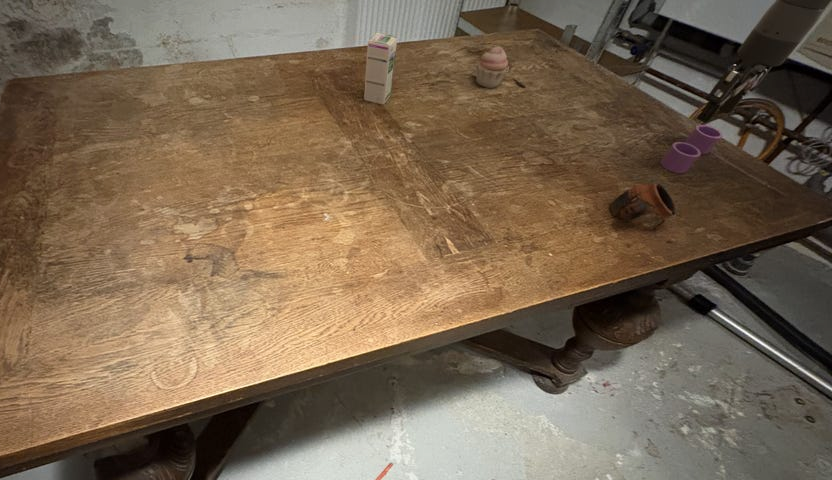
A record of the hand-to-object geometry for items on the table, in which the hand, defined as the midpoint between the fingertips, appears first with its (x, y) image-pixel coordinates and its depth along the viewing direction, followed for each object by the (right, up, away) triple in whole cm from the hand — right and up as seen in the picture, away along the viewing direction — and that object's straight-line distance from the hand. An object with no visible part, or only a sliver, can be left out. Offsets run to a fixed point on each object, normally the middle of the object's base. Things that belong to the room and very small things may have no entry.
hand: (713, 116), depth 86 cm
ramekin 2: (+9, -2, +15) cm, 18 cm away
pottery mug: (-20, -22, -3) cm, 30 cm away
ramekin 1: (-1, -8, +10) cm, 12 cm away
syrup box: (-70, +13, +22) cm, 74 cm away
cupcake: (-38, +22, +31) cm, 53 cm away
